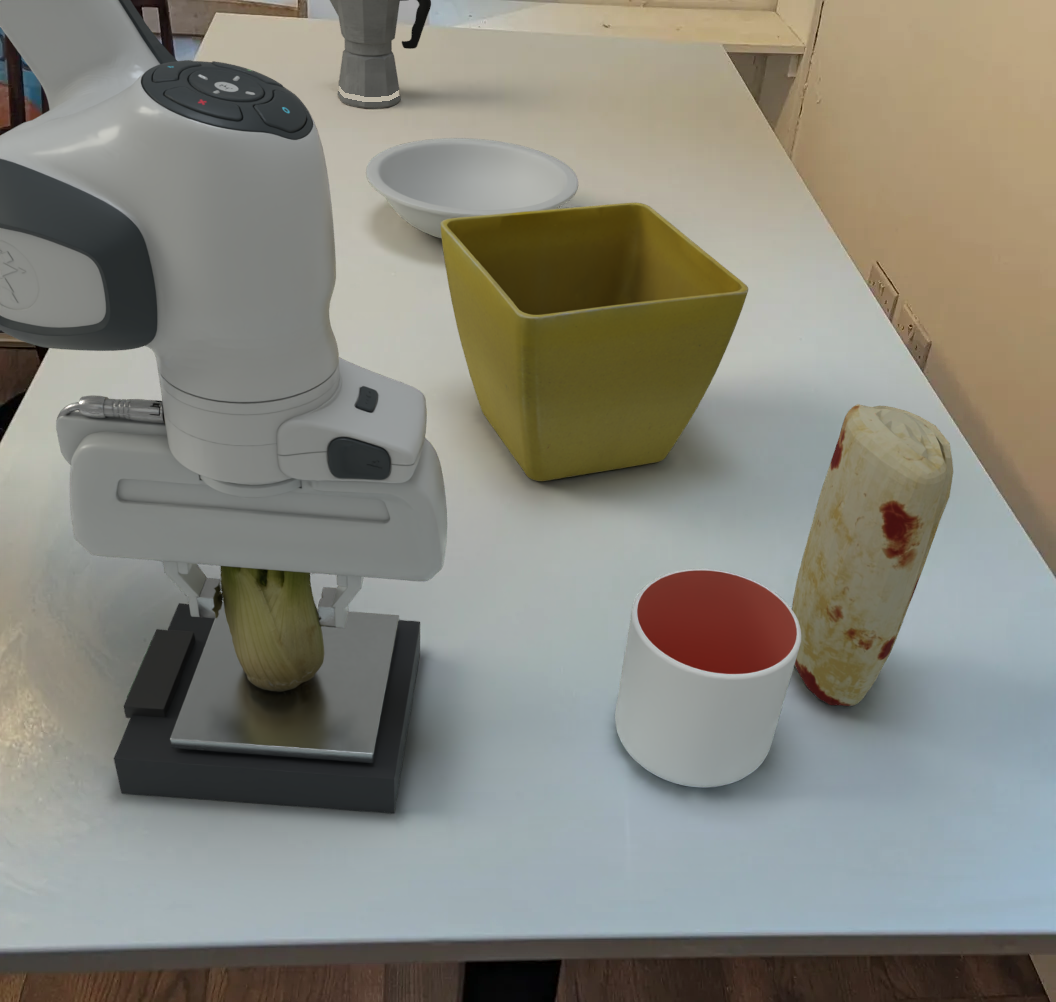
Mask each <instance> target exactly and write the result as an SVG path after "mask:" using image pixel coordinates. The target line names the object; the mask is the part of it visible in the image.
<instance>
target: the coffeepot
mask: <svg viewBox="0 0 1056 1002" xmlns="http://www.w3.org/2000/svg"><path fill="white" fill-rule="evenodd" d="M402 1H403V2H405V1H408V0H329V2H330V3H331V5H332V7H333V9H334V11H335V13H336V14H337V17H338V21H339V22H338V23H339V29H340V35H341V36H342V37H343V39H344V50H343V51H342V55H341V56H342V57H341V63H340V71H339V77H338V78H339V79H338V86H340V87H341V89H342V90H343V91H344V92H345V93H349V94H355V95H360V96H364V97H381V96H389V95H392V94H393V93H395V92H396V91H398V90H400V84H399V78H398V71H397V66H396V58H395V54H394V52H393V50H392V49H393V47H392V44H393V43H392V42H393V41H394V40H395V39H396V32H397V25H398V17H399V10H400V2H402ZM416 1H417V2H418V7H417V9H416V13H415V19H414V23H413V25H412V27H411V31H410V32H411V33H410V34H411V35H410V36H411V37H410V39H409V40H402V41H401V45H402V48H403V49H407V50H409V49H410V50H412V49H417V47H418V45H419V42H420V39H421V36H422V33H423V30H424V28H425V24H426V22H427V20H428V19H427V18H428V15H429V13H430V10H431V6H432V0H416ZM336 94H337V96H338V98H339V101H340V102H341V103H343V104H345V105H347V106H350V107H354V108H360V109H373V110H374V109H375V110H376V109H377V110H378V109H385V108H390V107H394V106H396V105H398V103H399V102H400V101H401V100H402V96H401V95H400V96H398V97H396V98H394V99H392V100H390V101H382V102H362V101H357V100H352V99H348V98H344V97H343V96H342V95H341V94H340V92H339V91H338V90H337V93H336Z"/></svg>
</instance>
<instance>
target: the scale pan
mask: <svg viewBox="0 0 1056 1002" xmlns="http://www.w3.org/2000/svg"><path fill="white" fill-rule="evenodd" d="M317 611H318V608H317ZM319 618H320V616H319ZM399 620H400V615H399V614H389V613H388V614H387V613H375V612H362V611H351V610H348V617H347V621H346V625H345V628H333V627H323V626H321V629H322V635H323V642H324V660H323V664H322V666H321V667H320V669H319V670H318V671H317V672H316V674H315V675H314V677H312V678H311V679H310V680H308V681H306V682H303V683H301V684H300V685H298V686H297V687H296V688H293V689H290V690H286V691H282V692H278V691H269V690H264V689H261V688H258V687H257V686H255V685H254V684H252V683H251V682H250V681H249V680H248V678H247V675H246V673H245V672H244V671H243V668H242V666H241V664H240V662H239V660H238V658H237V655H236V653H235V649H234V645H233V642H232V635H231V633H230V629H229V625H228V622H227V620H226V614H225V609H224V602H222V607H221V610H219V615H218V617H217V618H215V620H214V623H213V625H212V628H211V631H210V633H209V636H208V639H207V641H206V644H205V647H204V649H203V652H202V655H201V657H200V660H199V663H198V665H197V668H196V671H195V673H194V676H193V679H192V681H191V684H190V687H189V689H188V692H187V695H186V697H185V700H184V703H183V705H182V708H181V711H180V713H179V716H178V719H177V721H176V724H175V727H174V729H173V732H172V735H171V737H170V742H171V748H176V749H190V750H203V751H217V752H230V753H244V754H257V755H270V756H284V757H297V758H311V759H324V760H338V761H351V762H365V763H373V762H374V757H375V752H376V746H377V741H378V735H379V730H380V725H381V719H382V714H383V709H384V703H385V698H386V693H387V687H388V682H389V676H390V671H391V666H392V660H393V655H394V650H395V644H396V639H397V634H398V628H399Z"/></svg>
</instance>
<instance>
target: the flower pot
mask: <svg viewBox="0 0 1056 1002" xmlns="http://www.w3.org/2000/svg"><path fill="white" fill-rule="evenodd" d="M440 224H441V237H442V239H441V246H442V251H443V252H442V253H443V258H444V259H443V260H444V266H445V272H446V278H447V284H448V289H449V295H450V299H451V306H452V309H453V315H454V320H455V323H456V328H457V332H458V336H459V341H460V344H461V348H462V352H463V355H464V359H465V362H466V366H467V370H468V373H469V376H470V379H471V383H472V386H473V390H474V393H475V396H476V399H477V401H478V404H479V407H480V411H481V412H482V414H483V416H484V417H485V419H486V420H487V421H488V422H489V424H490V426H491V427H492V429H493V430H494V432H495V433H496V434H497V436H498V437H499V438H500V441H501V442H502V443H503V444H504V446H505V447H506V448H507V450H508V451H509V453H510V454H511V455H512V457H513V458H514V460H515V462H516V463H517V464H518V465H519V467H520V469H521V470H522V471H523V473H524V474H525V475H526V477H527V478H528V479H530V480H532V481H536V482H546V481H547V482H548V481H552V480H558V479H564V478H570V477H577V476H582V475H583V476H584V475H588V474H595V473H601V472H607V471H612V470H619V469H625V468H630V467H635V466H643V465H648V464H654V463H659V462H662V461H664V460H665V459H666V458H667V456H668V454H669V453H670V452H671V451H672V449H673V447H674V446H675V445H676V443H677V442H678V440H679V438H680V437H681V435H682V433H683V432H684V430H685V429H686V428H687V426H688V424H689V422H690V421H691V419H692V418H693V416H694V414H695V412H696V410H697V409H698V407H699V406H700V404H701V402H702V400H703V398H704V397H705V395H706V393H707V391H708V389H709V387H710V385H711V383H712V381H713V379H714V377H715V375H716V373H717V371H718V368H719V366H720V364H721V362H722V359H723V358H724V355H725V353H726V351H727V349H728V347H729V344H730V341H731V338H732V336H733V334H734V332H735V329H736V326H737V324H738V321H739V318H740V316H741V314H742V311H743V308H744V305H745V301H746V299H747V296H748V292H749V286H748V285H747V284H745V282H743V280H741V279H740V278H738V277H737V276H736V275H735V274H734V273H732V271H729V270H728V269H727V267H725V266H723V264H721V263H720V262H718V260H716V259H715V258H714V257H713V256H712V255H710V254H709V253H708V252H707V251H706V250H704V249H703V248H702V247H700V246H699V245H698V244H697V243H696V242H694V241H693V240H691V239H690V238H689V237H688V236H687V235H685V233H683V232H682V231H681V230H680V229H678V228H677V227H676V226H675V225H674V224H672V223H671V222H670V221H669V220H667V218H665V217H664V216H662V215H661V214H660V213H659V212H657V211H656V210H655V209H654V208H653V207H651V206H650V205H648V204H645V203H642V202H622V203H610V204H609V203H608V204H597V205H586V206H575V207H574V206H573V207H563V208H561V207H560V208H557V209H548V210H536V211H525V212H515V213H503V214H492V215H481V216H470V217H459V218H450V219H446V220H443V221H442V222H441V223H440Z"/></svg>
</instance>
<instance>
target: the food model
mask: <svg viewBox="0 0 1056 1002" xmlns="http://www.w3.org/2000/svg"><path fill="white" fill-rule="evenodd" d="M951 449H952V448H951V443H950V441H948V439H947V438H946V437H945V435H944V434H943V432H941V431H940V428H938V426H936V424H934V423H932V422H931V421H929V420H928V419H925V418H924V417H921V416H920V415H917V414H915V413H912V412H910V411H908V410H905V409H901V408H898V407H897V408H896V407H893V406H888V405H875V406H867V405H863V404H859V403H857V404H855V405H853V406H852V407H851V408H850V409H849V410H848V411H847V413H846V414H845V416H844V419H843V422H842V425H841V429H840V432H839V435H838V438H837V442H836V445H835V448H834V451H833V454H832V457H831V460H830V463H829V466H828V469H827V473H826V475H825V478H824V481H823V484H822V487H821V490H820V493H819V497H818V500H817V503H816V508H815V511H814V514H813V518H812V522H811V526H810V529H809V533H808V537H807V540H806V544H805V548H804V550H803V555H802V558H801V563H800V567H799V570H798V573H797V578H796V583H795V586H794V592H793V597H792V604H791V609H792V610H793V612H794V613H795V615H796V617H797V619H798V621H799V625H800V629H801V644H800V647H799V651H798V654H797V658H796V661H795V665H794V667H795V669H796V671H797V672H798V675H799V676H800V679H801V680H802V681H803V683H804V685H805V687H806V689H808V690H809V691H810V692H811V693H812V694H813V695H814V696H815V697H817V698H818V700H820V701H822V702H824V703H825V704H827V705H829V706H844V707H851V706H856V705H857V704H859V703H861V701H863V700H864V698H865V696H866V695H867V694H868V692H870V690H871V688H872V687H873V686H874V684H875V682H876V681H877V679H878V677H879V675H880V673H881V672H882V670H883V668H884V666H885V663H886V662H887V660H888V658H889V657H890V654H891V652H892V650H893V648H894V646H895V643H896V642H897V638H898V636H899V634H900V630H901V628H902V625H903V623H904V620H905V617H906V614H907V612H908V609H909V607H910V604H911V602H912V599H913V596H914V594H915V591H916V590H917V586H918V583H919V580H920V578H921V575H922V572H923V570H924V566H925V564H926V561H927V559H928V555H929V553H930V550H931V547H932V545H933V542H934V539H935V536H936V534H937V531H938V528H939V525H940V522H941V519H942V517H943V514H944V512H945V509H946V507H947V505H948V502H949V499H950V497H951V490H952V483H953V475H954V464H953V463H954V461H953V455H952V450H951Z"/></svg>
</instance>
